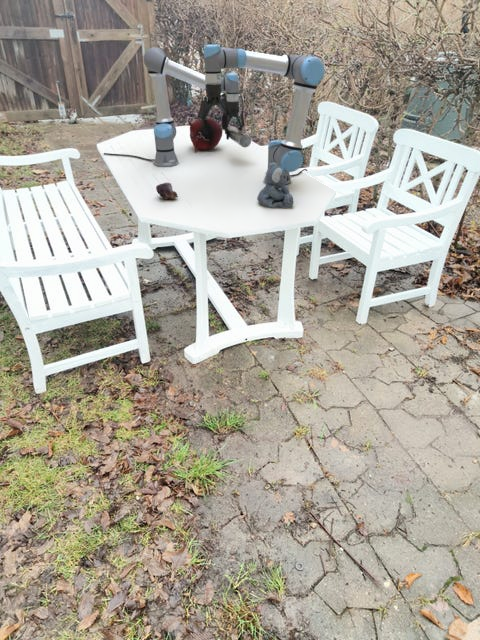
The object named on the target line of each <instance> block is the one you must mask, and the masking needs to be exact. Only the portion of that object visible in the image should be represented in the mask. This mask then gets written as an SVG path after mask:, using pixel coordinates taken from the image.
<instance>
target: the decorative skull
mask: <svg viewBox="0 0 480 640" xmlns="http://www.w3.org/2000/svg"><path fill="white" fill-rule="evenodd" d="M206 120H207V129H208V134H203V128H202V124H201V119H199V118H198V119H197V120H195V121H194V122H191V121H190V119H188V120H187V122H188V124H189V138H190V141H191V143H192V146H193V147H194V153H197V150H204V151H207V150H212V149H214V148H215V147H217V146H218V145H219V143H220V141H221V140H222V137H223V133H224V132H223V129H222V125H220V124H219V123H218V122H217V121H216V120H214V118H210V117H206Z"/></svg>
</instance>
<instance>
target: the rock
mask: <svg viewBox="0 0 480 640" xmlns="http://www.w3.org/2000/svg"><path fill="white" fill-rule="evenodd" d="M155 186H156V187H155V190H156V193H157V194H158V195H159V196H160V198H162V199H163V200H168V199H173V200H174V199H177V198H178V193H177V192H176V191H174V190H173V185H172V183H171V182H163V183H160V184H157V185H155Z"/></svg>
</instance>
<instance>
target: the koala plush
mask: <svg viewBox="0 0 480 640" xmlns="http://www.w3.org/2000/svg"><path fill="white" fill-rule="evenodd" d="M267 169H268V168H267ZM266 172H267V171H266ZM288 179H289V178H288V176H286V174H285V172H284V171H283V169H282V168H281V167H280V166H277V165H276V163H271V164H270V165H269V169H268V172H267V176H266V183H265V186H264V187H263V188H262V189H261V190H260V191H259V192H258V195H257V197H256V200H257V202H258V203H259V204H260V205H264V207H267V208H282V209H284V208H286V209H287V208H291V207H294V197H293V194H292V193H290V190H289V188H288V186H287V185H285V183H286V182H287V181H288Z"/></svg>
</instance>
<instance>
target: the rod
mask: <svg viewBox="0 0 480 640" xmlns="http://www.w3.org/2000/svg"><path fill="white" fill-rule="evenodd" d="M227 129H228V130H229V140H231V141H233V142H235V143H236V144H237V145H239V146H240V147H241V148H248V147H250V146H251V143H252V138H251V136H250V135H249V134H248V133H246V132H244V131H243V130H242V131H241V130H239V129H238V127H236V126H233V125H230V126H228V128H227Z"/></svg>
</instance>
